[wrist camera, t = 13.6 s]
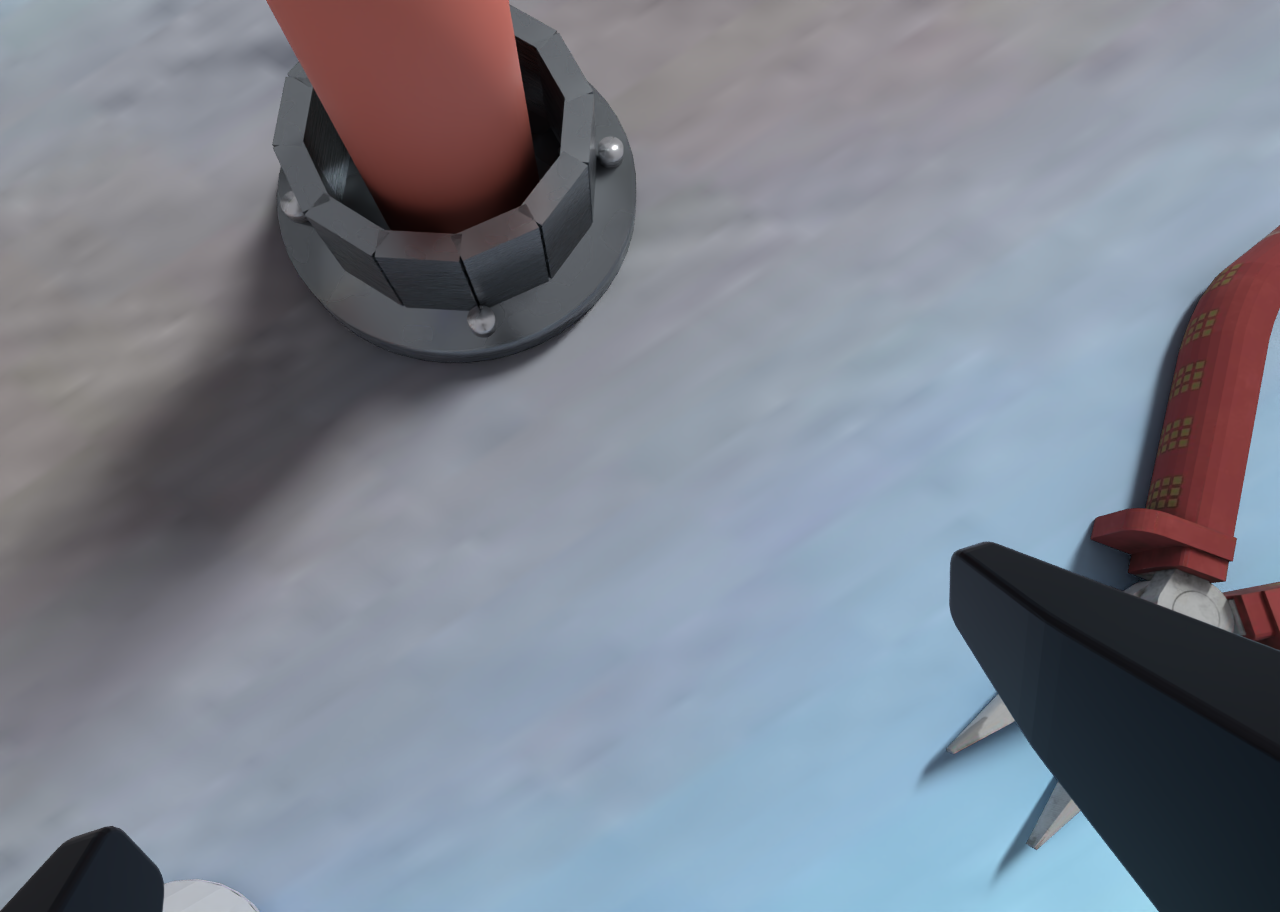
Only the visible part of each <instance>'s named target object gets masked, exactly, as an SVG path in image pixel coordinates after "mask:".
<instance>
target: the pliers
mask: <svg viewBox="0 0 1280 912" xmlns="http://www.w3.org/2000/svg"><path fill="white" fill-rule="evenodd" d="M1279 308H1280V226H1278V227H1277V228H1276V229H1275V230H1273V231H1272V232H1271V233H1270V234H1268V235H1267V236H1266V237H1265V238H1263V239H1262V240H1261V241H1260V242H1258V243H1257V244H1256V245H1255V246H1253V247H1252V248H1251V249H1250V250H1248V251H1247V252H1246V253H1245V254H1243V255H1242V256H1241V257H1240V258H1238V259H1237V260H1236V261H1235V262H1233V263H1232V264H1231V265H1230V266H1228V267H1227V268H1226V269H1225V270H1223V271H1222V272H1221V273H1220V274H1219V275H1218V276H1217V277H1216V278H1215V279H1214V280H1213V281H1212V283H1211V284H1210V286H1209V287H1208V288H1207V290H1206V291H1205V292H1204V294H1203V295H1202V297H1201V298H1200V300H1199V302H1198V304H1197V306H1196V308H1195V310H1194V312H1193V314H1192V316H1191V319H1190V321H1189V324H1188V326H1187V329H1186V331H1185V334H1184V337H1183V341H1182V344H1181V347H1180V350H1179V353H1178V358H1177V363H1176V367H1175V372H1174V377H1173V381H1172V386H1171V391H1170V395H1169V400H1168V405H1167V409H1166V414H1165V419H1164V423H1163V428H1162V433H1161V437H1160V442H1159V447H1158V451H1157V456H1156V461H1155V465H1154V470H1153V475H1152V479H1151V484H1150V489H1149V493H1148V498H1147V503H1146V507H1145V509H1144V508H1131V509H1125V510H1122V511H1118V512H1114V513H1111V514H1107V515H1104V516H1100V517H1097V518H1096V519H1095V522H1094V526H1093V530H1092V535H1091V540H1094V541H1096V542H1099V543H1102V544H1104V545H1107V546H1110V547H1112V548H1115V549H1118V550H1120V551H1123V552H1126V553H1128V554H1131V560H1130V565H1129V569H1128V573H1130V574H1133V575H1135V576H1138V577H1140V578H1143V579H1146V580H1148V581H1142V582H1138V583H1136V584H1134V585H1132V586H1131V587H1129V588H1128V589H1126V590H1124V592H1126V593H1129V594H1132V595H1134V596H1137V597H1139V598H1142V599H1145V600H1147V601H1150V602H1153V603H1155V604H1158V605H1161V606H1163V607H1166V608H1169V609H1171V610H1174V611H1176V612H1179V613H1182V614H1184V615H1187V616H1190V617H1192V618H1195V619H1198V620H1200V621H1203V622H1206V623H1208V624H1211V625H1213V626H1216V627H1219V628H1221V629H1224V630H1227V631H1229V632H1232V633H1235V634H1237V635H1240V636H1243V637H1245V638H1248V639H1250V640H1253V641H1256V642H1258V643H1261V644H1264V645H1266V646H1269V647H1272V648H1274V649H1277V650H1280V582H1276V583H1271V584H1266V585H1261V586H1255V587H1250V588H1245V589H1239V590H1234V591H1229V592H1224V593H1222V592H1221V591H1220V590H1219V589H1218V588H1216V587H1215V586H1214V585H1212V584H1211V583H1215V582H1224V581H1226V576H1227V570H1228V564H1229V561H1233V557H1234V551H1235V546H1236V540H1237V538H1235V537H1233V536H1234V531H1235V525H1236V520H1237V514H1238V509H1239V503H1240V498H1241V492H1242V487H1243V481H1244V476H1245V470H1246V465H1247V459H1248V454H1249V448H1250V443H1251V437H1252V432H1253V426H1254V421H1255V415H1256V410H1257V404H1258V399H1259V393H1260V387H1261V382H1262V376H1263V371H1264V365H1265V360H1266V354H1267V349H1268V343H1269V338H1270V335H1271V331H1272V328H1273V324H1274V321H1275V319H1276V316H1277V313H1278V311H1279ZM1014 721H1015V720H1014V719H1013V717H1012V716H1011V714H1010V712H1009V711H1008V709H1007V708H1006V706H1005V704H1004V703H1003V701H1002V699H1001V698H1000V696H999V695H998V694H997V696H996V697H995V698H994V699H993V700H992V701H991V702H990V703H989V704H988V705H987V706H986V707H985V708H984V709H983V710H982V711H981V712H980V713H979V715H978V716H977V717H976V718H975V719H974V720H973V721H972V722H971V723H970V724H969V725H968V726H967V727H966V728H965V729H964V730H963V731H962V732H961V734H960V735H959V736H958V737H957V738H956V739H955V740H954V741H953V742H952V743H951V744H950V745H949V746H948V747H947V748H946V750H947V752H949V753H951V754H955V753H957V752H959V751H961V750H963V749H964V748H966V747H968V746H970V745H972V744H974V743H976V742H977V741H979V740H981V739H983V738H985V737H987V736H988V735H990V734H992V733H994V732H996V731H998V730H1000V729H1001V728H1003V727H1005V726H1007V725H1009V724H1011V723H1012V722H1014ZM1078 812H1080V809H1079V808H1078V807H1077V805H1076V804H1075V803H1074V801H1073V800H1072V799H1071V798H1070V796H1069V795H1068V794H1067V792H1066V791H1065V790H1064V789H1063V787H1062V786H1061V785H1060V783H1059V782H1057V784H1056V786H1055V788H1054V790H1053V792H1052V794H1051V796H1050V798H1049V800H1048V802H1047V804H1046V806H1045V808H1044V810H1043V812H1042V814H1041V816H1040V818H1039V820H1038V822H1037V824H1036V825H1035V827H1034V829H1033V831H1032V833H1031V835H1030V837H1029V839H1028V841H1027V843H1026V844H1028V845H1029V846H1030V847H1032V848H1034V849H1036V850H1037V849H1038V848H1039V847H1041V846H1042V845H1043V844H1044V843H1045V842H1046V841H1047V840H1048V839H1049V838H1051V837H1052V836H1053V835H1054V834H1055V833H1056V832H1057V831H1058V830H1060V829H1061V828H1062V827H1063V826H1064V825H1065V824H1066V823H1067V822H1068V821H1070V820H1071V819H1072V818H1073V817H1074V816H1075V815H1076V814H1077V813H1078Z"/></svg>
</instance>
